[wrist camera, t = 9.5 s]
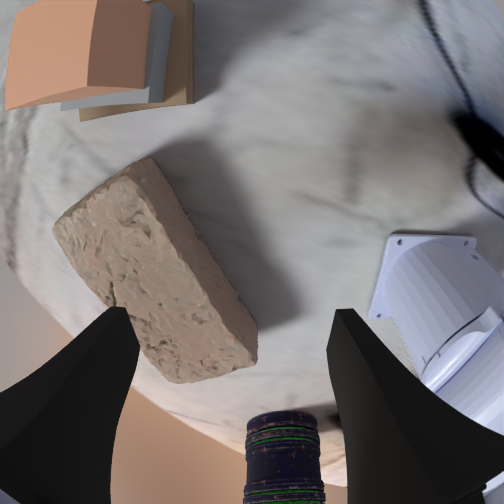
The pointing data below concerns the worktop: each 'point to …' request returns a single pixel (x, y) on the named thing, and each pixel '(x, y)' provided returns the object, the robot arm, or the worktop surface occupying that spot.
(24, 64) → the terracotta block
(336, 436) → the worktop surface
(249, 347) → the brick
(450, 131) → the worktop surface
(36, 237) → the worktop surface
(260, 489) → the storage jar
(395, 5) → the worktop surface
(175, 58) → the tower base
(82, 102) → the grey flat square block
